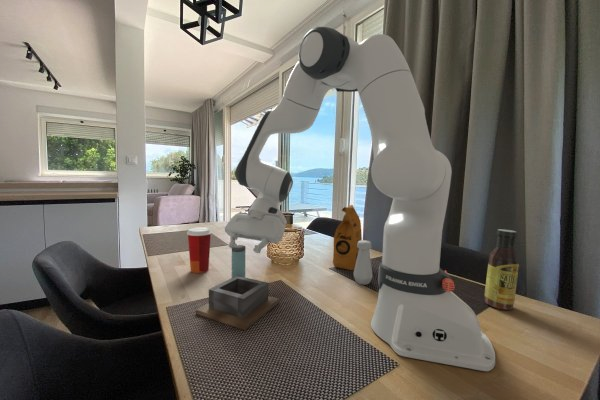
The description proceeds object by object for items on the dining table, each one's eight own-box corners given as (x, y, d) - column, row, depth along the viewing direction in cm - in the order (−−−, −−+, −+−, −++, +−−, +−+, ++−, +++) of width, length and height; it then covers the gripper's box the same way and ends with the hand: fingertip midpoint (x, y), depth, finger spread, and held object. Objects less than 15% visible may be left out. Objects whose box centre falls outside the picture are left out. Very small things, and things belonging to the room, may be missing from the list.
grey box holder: (279, 302, 68) (279, 281, 67) (245, 330, 55) (245, 304, 54) (235, 291, 74) (235, 271, 73) (195, 313, 61) (195, 290, 61)
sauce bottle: (499, 312, 65) (506, 233, 63) (477, 300, 71) (484, 228, 70) (521, 310, 66) (529, 232, 65) (498, 299, 73) (504, 227, 71)
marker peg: (247, 281, 80) (248, 246, 79) (239, 286, 77) (239, 249, 76) (237, 279, 82) (237, 244, 81) (228, 283, 78) (228, 247, 78)
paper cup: (211, 265, 94) (211, 226, 93) (211, 273, 87) (211, 231, 85) (187, 267, 91) (187, 227, 90) (185, 275, 84) (185, 232, 83)
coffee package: (328, 267, 95) (330, 206, 94) (339, 258, 106) (341, 203, 105) (355, 272, 91) (357, 208, 89) (364, 262, 102) (366, 205, 100)
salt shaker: (372, 286, 79) (374, 244, 78) (353, 284, 80) (355, 242, 79) (371, 279, 84) (373, 239, 83) (353, 277, 86) (354, 238, 84)
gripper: (233, 206, 91) (212, 239, 83) (285, 210, 82) (267, 248, 74) (241, 217, 95) (222, 250, 87) (291, 222, 86) (275, 260, 78)
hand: (243, 249), depth 81 cm, fingers open, 8 cm apart
